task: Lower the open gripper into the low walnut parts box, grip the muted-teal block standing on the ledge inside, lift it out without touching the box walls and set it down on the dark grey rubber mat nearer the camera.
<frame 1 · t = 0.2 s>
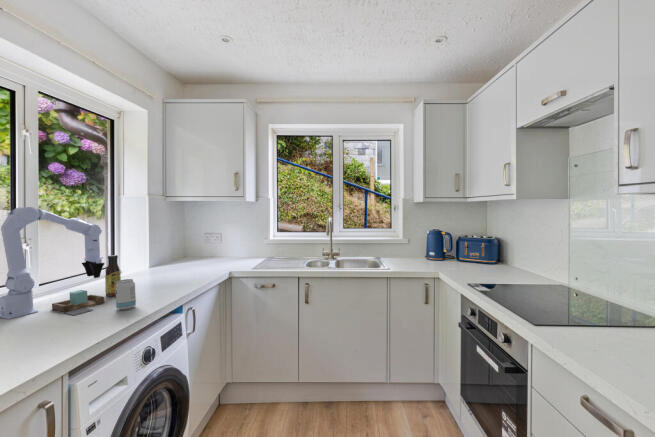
hand: (93, 276, 150), 10 cm above the countertop, fingers open, 7 cm apart
teal block: (79, 302, 135), point 2 cm above the countertop, touching parts box
parts box: (79, 306, 135), on the countertop
beverage can: (126, 309, 131), on the countertop
rubber mat: (78, 312, 127), on the countertop
sauce bottle: (113, 295, 153), on the countertop
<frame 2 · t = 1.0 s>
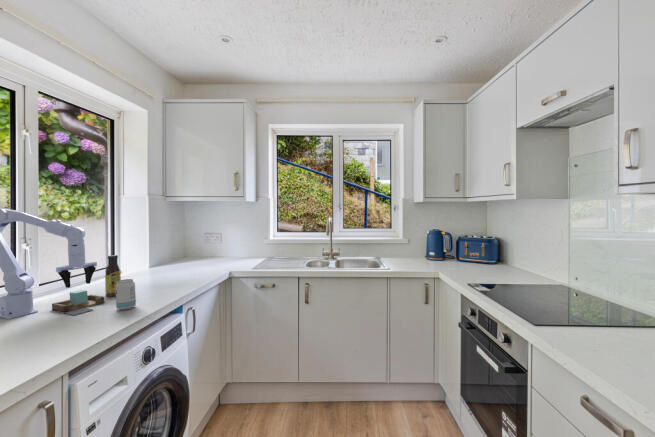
hand: (78, 285, 135), 9 cm above the countertop, fingers open, 7 cm apart
nothing on the countertop moved.
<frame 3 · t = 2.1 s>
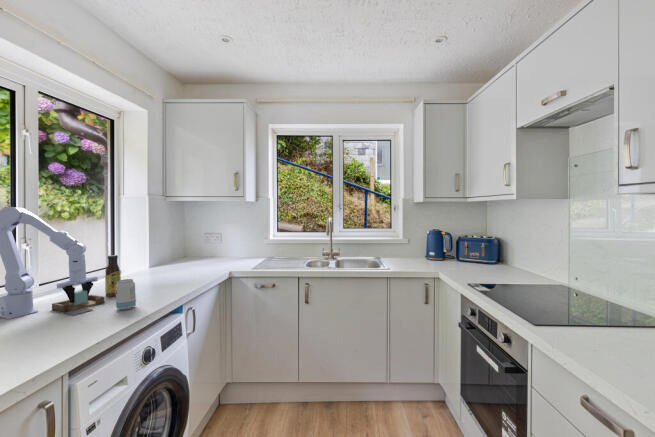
hand: (78, 300, 135), 2 cm above the countertop, fingers closed on teal block, 4 cm apart
teal block: (79, 302, 135), point 2 cm above the countertop, touching gripper, parts box
everything else where it was.
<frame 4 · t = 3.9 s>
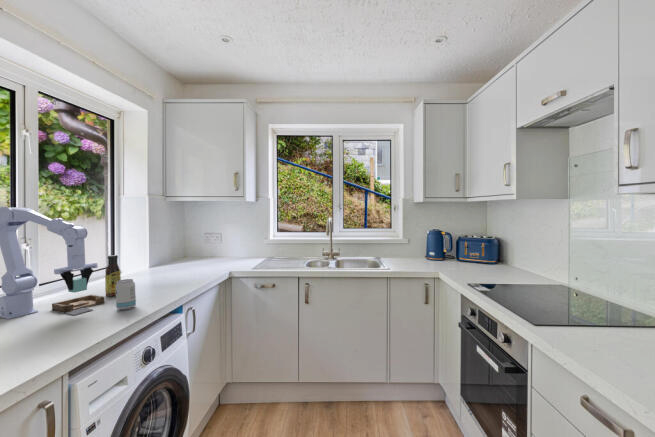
hand: (77, 288, 127), 10 cm above the countertop, fingers closed on teal block, 4 cm apart
teal block: (77, 290, 127), point 9 cm above the countertop, touching gripper
everything else where it was.
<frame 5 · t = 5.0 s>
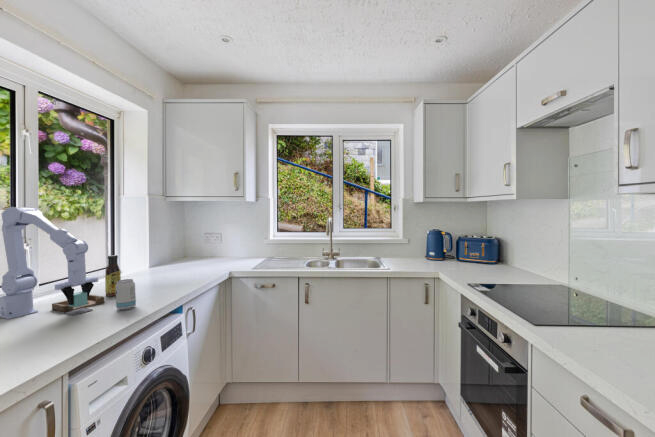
hand: (78, 302, 127), 4 cm above the countertop, fingers closed on teal block, 4 cm apart
teal block: (78, 305, 127), point 3 cm above the countertop, touching gripper
everything else where it was.
when the fingers open (3 cm above the countertop, at t = 5.7 s): teal block drops 1 cm, resting on rubber mat.
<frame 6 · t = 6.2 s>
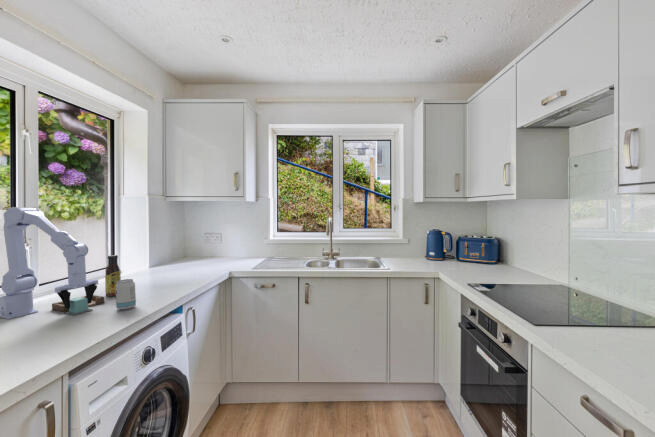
hand: (78, 305, 127), 3 cm above the countertop, fingers open, 7 cm apart
teal block: (78, 311, 127), resting on rubber mat
everything else where it was.
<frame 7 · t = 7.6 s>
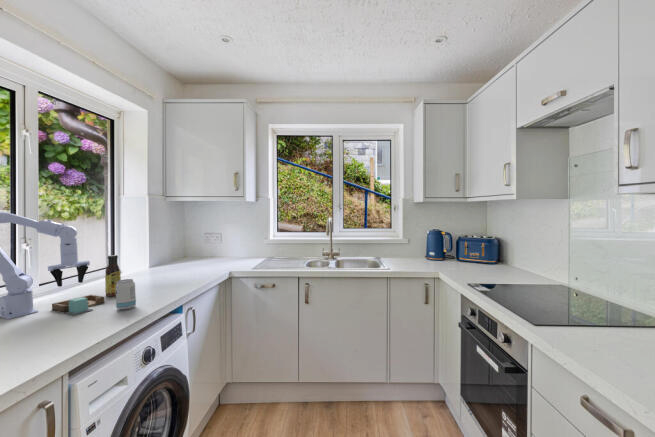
hand: (70, 284, 135), 10 cm above the countertop, fingers open, 7 cm apart
nothing on the countertop moved.
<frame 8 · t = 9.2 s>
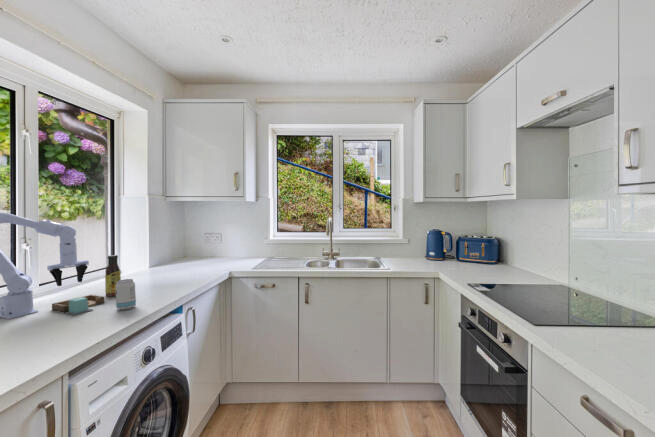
hand: (69, 283, 136), 10 cm above the countertop, fingers open, 7 cm apart
nothing on the countertop moved.
at the end: teal block inside the target area on the rubber mat (0.1 cm from its centre), point 0.4 cm above the rubber mat's base; teal block tilted 0°; teal block touching rubber mat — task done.
